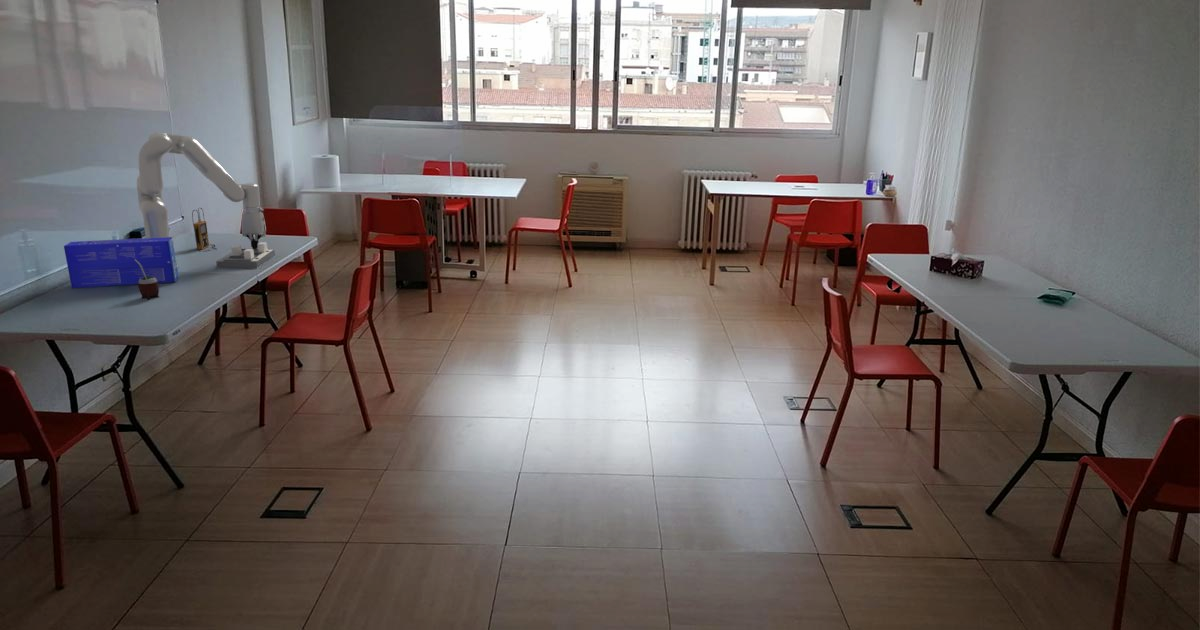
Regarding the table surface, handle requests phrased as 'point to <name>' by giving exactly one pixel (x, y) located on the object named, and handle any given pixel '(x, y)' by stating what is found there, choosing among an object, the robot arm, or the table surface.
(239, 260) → the switch bank
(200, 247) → the multimeter
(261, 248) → the tab
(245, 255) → the tab
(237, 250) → the tab middle
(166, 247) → the toner cartridge box
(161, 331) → the table surface
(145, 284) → the mate gourd
